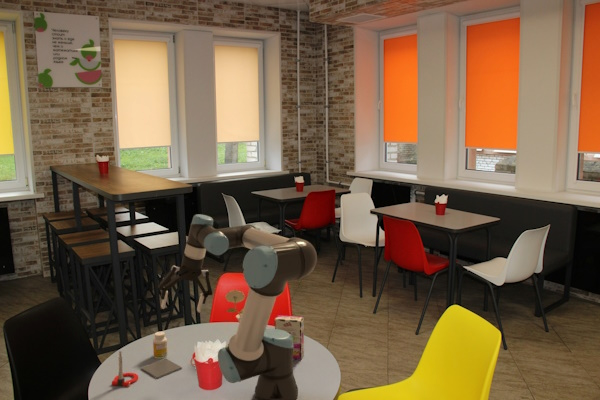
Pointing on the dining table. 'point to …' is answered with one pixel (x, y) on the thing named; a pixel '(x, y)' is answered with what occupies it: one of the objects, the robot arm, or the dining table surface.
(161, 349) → the supplement bottle
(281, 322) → the candy bar box
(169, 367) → the coaster
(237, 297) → the flower in vase
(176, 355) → the dining table surface
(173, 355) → the dining table surface
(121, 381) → the tow hook
